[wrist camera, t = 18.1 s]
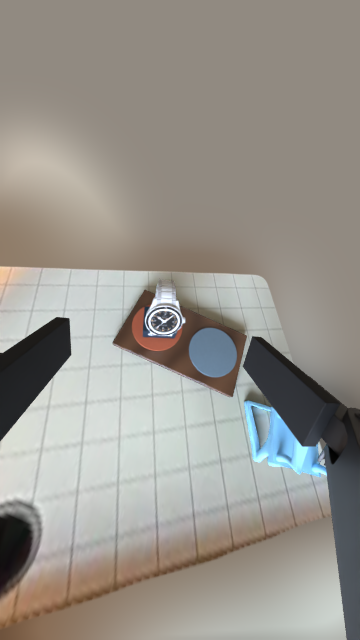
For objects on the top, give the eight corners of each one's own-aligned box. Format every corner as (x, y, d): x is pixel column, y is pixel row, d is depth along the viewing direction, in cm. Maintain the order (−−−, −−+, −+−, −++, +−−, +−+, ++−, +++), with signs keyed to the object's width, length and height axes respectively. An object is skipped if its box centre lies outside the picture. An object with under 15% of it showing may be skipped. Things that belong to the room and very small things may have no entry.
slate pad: (181, 364, 31) (181, 363, 31) (198, 320, 35) (198, 320, 35) (229, 385, 31) (230, 385, 31) (240, 340, 35) (241, 339, 35)
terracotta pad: (122, 337, 31) (122, 337, 31) (146, 297, 35) (146, 296, 35) (170, 359, 31) (170, 359, 31) (188, 316, 35) (189, 316, 35)
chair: (239, 456, 28) (299, 489, 17) (244, 399, 32) (297, 397, 21) (285, 469, 29) (371, 509, 18) (285, 412, 32) (356, 416, 22)
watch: (141, 348, 31) (142, 322, 21) (144, 305, 34) (146, 266, 24) (174, 349, 32) (190, 325, 22) (174, 308, 35) (187, 271, 25)
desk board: (113, 344, 31) (112, 342, 30) (144, 292, 37) (144, 289, 36) (229, 397, 32) (232, 397, 30) (244, 337, 37) (247, 335, 36)
